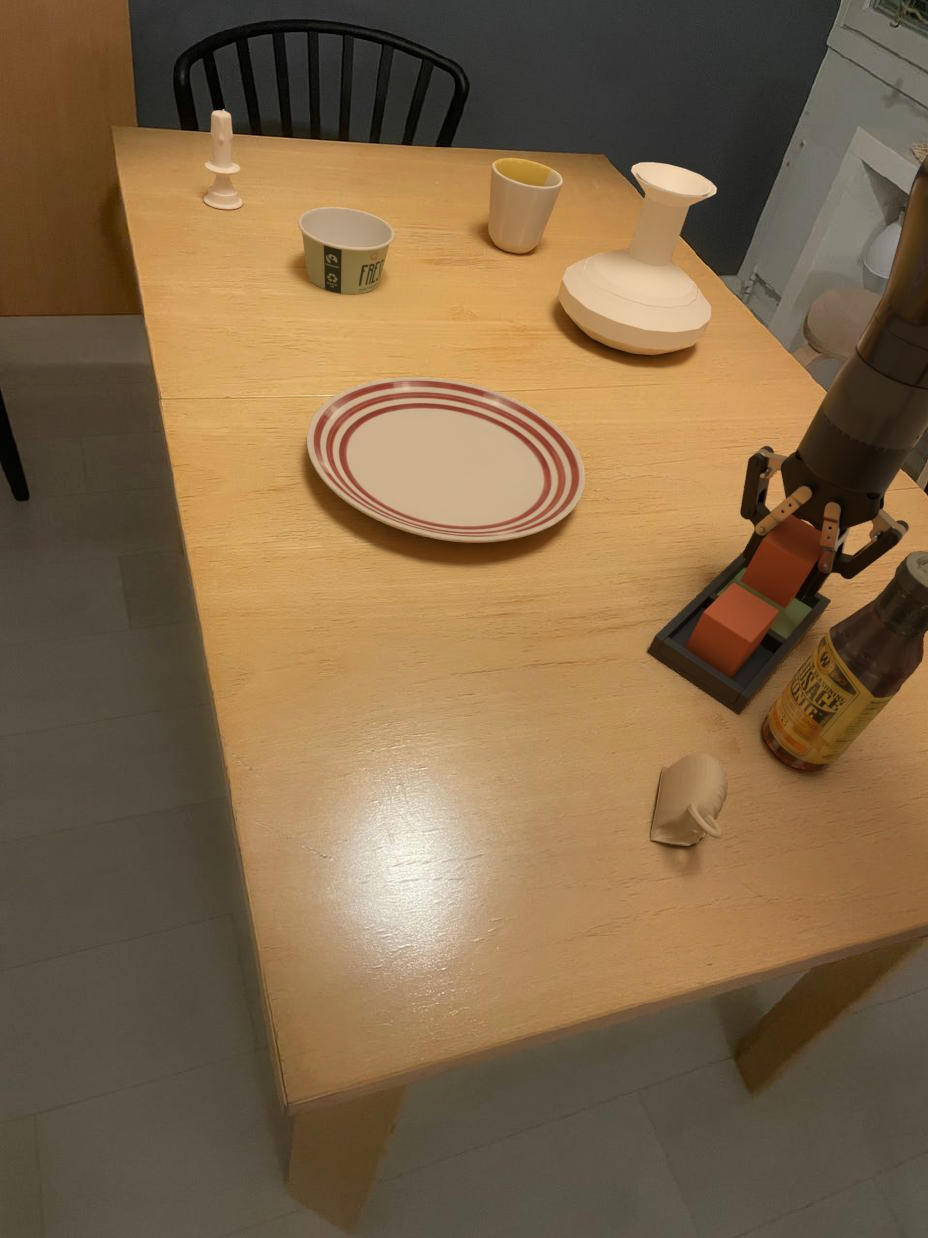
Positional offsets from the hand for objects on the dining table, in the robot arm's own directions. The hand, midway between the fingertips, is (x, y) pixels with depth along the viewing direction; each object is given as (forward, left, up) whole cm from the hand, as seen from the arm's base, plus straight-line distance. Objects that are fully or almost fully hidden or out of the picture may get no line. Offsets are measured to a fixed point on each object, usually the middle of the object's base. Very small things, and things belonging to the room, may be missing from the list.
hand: (777, 578), depth 78 cm
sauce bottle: (-10, +12, -5) cm, 16 cm away
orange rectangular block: (0, +8, -4) cm, 9 cm away
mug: (+64, -44, -5) cm, 78 cm away
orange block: (0, 0, 0) cm, 0 cm away
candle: (+93, -14, -5) cm, 94 cm away
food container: (+68, -13, -5) cm, 69 cm away
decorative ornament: (-6, +25, -5) cm, 26 cm away
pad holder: (0, +4, -4) cm, 6 cm away
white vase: (+38, -36, -5) cm, 52 cm away
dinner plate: (+32, +8, -5) cm, 33 cm away
